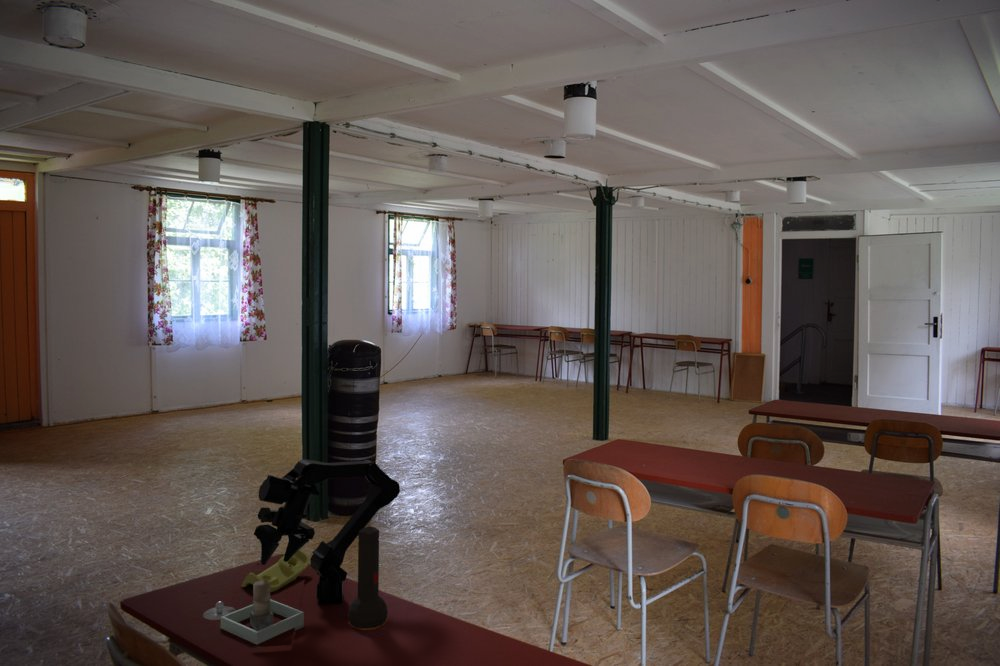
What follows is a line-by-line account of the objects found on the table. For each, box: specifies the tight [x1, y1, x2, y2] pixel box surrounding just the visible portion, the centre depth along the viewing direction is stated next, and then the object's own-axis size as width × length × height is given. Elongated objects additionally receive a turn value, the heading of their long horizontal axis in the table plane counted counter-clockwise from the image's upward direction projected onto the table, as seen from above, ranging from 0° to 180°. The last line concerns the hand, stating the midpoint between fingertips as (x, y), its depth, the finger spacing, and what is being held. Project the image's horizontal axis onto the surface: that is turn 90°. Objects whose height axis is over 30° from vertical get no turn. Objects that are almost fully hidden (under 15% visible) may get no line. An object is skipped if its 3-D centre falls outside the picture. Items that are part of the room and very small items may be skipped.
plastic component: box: [240, 548, 310, 593], centre depth 212 cm, size 20×7×10 cm
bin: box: [220, 598, 305, 649], centre depth 182 cm, size 14×14×4 cm
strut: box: [249, 581, 274, 631], centre depth 181 cm, size 4×4×11 cm
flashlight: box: [347, 525, 388, 630], centre depth 187 cm, size 10×25×10 cm
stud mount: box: [202, 600, 237, 621], centre depth 188 cm, size 8×8×4 cm
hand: (274, 562), depth 192 cm, fingers open, 9 cm apart
